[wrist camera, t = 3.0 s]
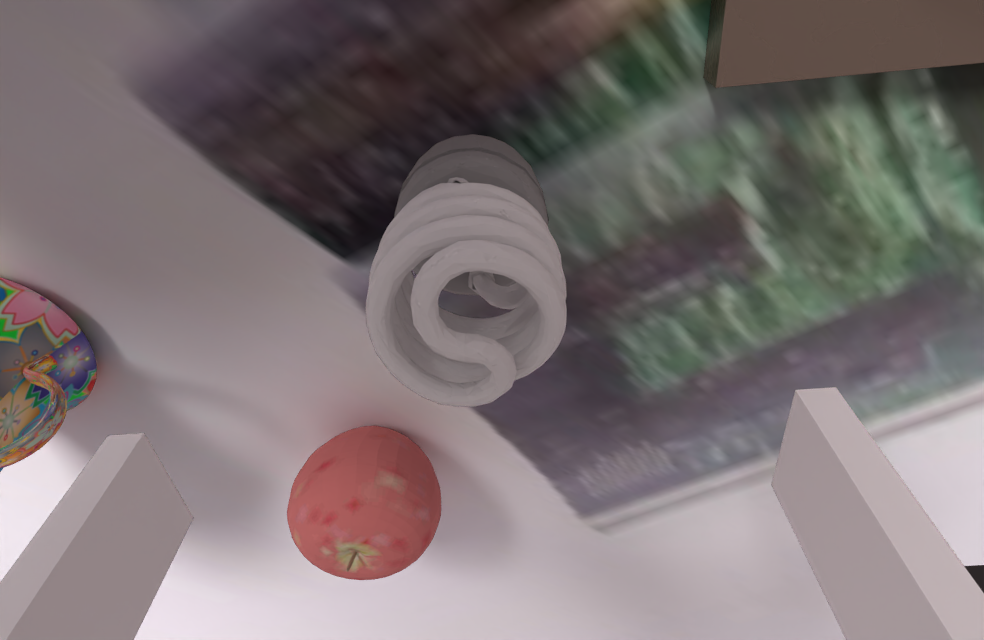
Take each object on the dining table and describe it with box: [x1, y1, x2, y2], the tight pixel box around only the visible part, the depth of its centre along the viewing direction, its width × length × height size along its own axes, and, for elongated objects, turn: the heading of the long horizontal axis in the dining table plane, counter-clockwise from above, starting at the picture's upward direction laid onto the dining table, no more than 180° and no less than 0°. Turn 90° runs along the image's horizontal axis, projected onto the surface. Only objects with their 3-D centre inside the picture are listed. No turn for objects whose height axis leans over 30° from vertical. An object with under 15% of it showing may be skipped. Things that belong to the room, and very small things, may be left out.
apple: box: [287, 426, 441, 580], centre depth 31 cm, size 7×7×8 cm
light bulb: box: [366, 134, 567, 407], centre depth 20 cm, size 6×6×12 cm
